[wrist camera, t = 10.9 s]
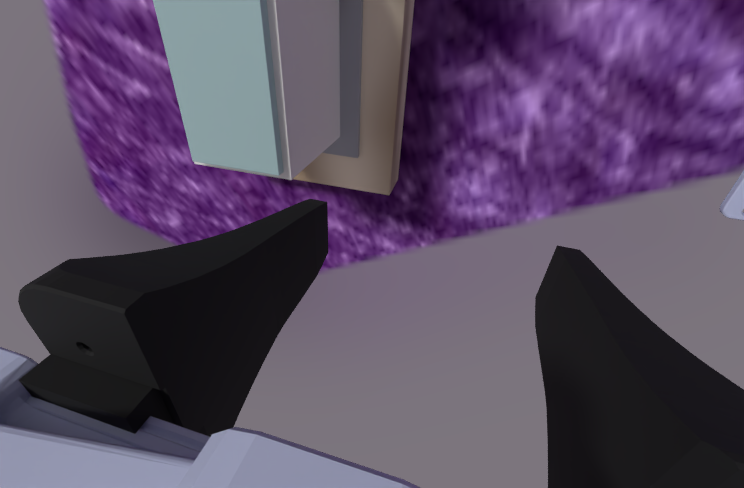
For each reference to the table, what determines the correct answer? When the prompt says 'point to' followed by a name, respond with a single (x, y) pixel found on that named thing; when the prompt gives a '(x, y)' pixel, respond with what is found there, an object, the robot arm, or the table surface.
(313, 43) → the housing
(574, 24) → the table surface
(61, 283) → the robot arm
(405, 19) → the stand
